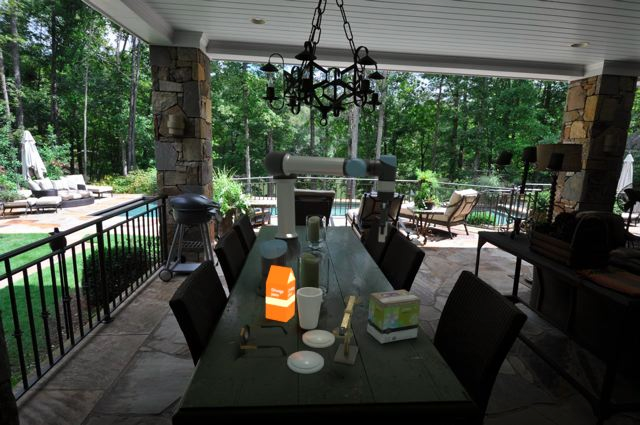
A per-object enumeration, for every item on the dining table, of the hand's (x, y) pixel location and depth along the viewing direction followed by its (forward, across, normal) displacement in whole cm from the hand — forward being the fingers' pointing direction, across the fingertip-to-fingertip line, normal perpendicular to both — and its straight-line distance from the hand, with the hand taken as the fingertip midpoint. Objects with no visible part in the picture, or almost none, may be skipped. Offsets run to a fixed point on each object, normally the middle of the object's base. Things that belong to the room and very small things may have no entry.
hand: (382, 238), depth 161 cm
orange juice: (+27, -33, +36) cm, 56 cm away
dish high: (+27, -47, +17) cm, 57 cm away
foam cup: (+27, -37, +23) cm, 52 cm away
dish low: (+27, -62, +17) cm, 70 cm away
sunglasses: (+28, -55, +33) cm, 70 cm away
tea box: (+27, -35, -8) cm, 45 cm away
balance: (+27, -54, +6) cm, 61 cm away
